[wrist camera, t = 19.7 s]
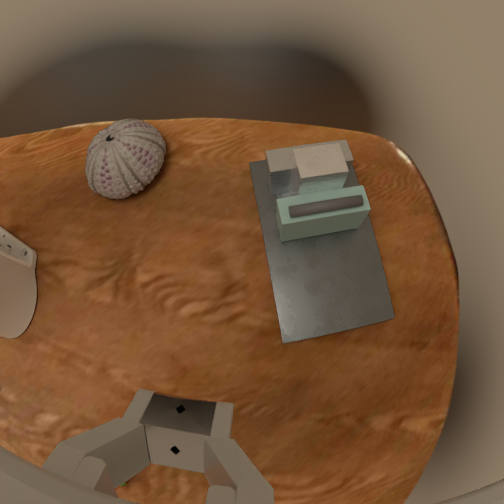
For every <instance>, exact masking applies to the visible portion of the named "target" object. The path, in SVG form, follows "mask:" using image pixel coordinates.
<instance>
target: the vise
mask: <svg viewBox="0 0 504 504" xmlns="http://www.w3.org/2000/svg"><path fill="white" fill-rule="evenodd" d="M336 143H339V145H340V147H341V150H342V153H343V156H344V159H345V161H346V164H347V167H348V170H349V172H348V175H347V177H346V180H345V183H344V185H343V188H347V187H354V186H359V183H358V180H357V177H356V174H355V171H354V168H353V165H352V163H353V161H354V159H353V157H352V154H351V151H350V149H349V146H348V143H347V141H346V140H339V141H331V142H322V143H315V144H307V145H300V146H293V147H286V148H280V149H273V150H267V151H265V154H266V160H262V161H256V162H250V163H249V166H250V171H251V176H252V182H253V187H254V192H255V197H256V202H257V207H258V212H259V218H260V223H261V228H262V233H263V239H264V244H265V249H266V254H267V260H268V265H269V270H270V276H271V281H272V287H273V292H274V297H275V303H276V308H277V314H278V319H279V325H280V330H281V336H282V342H283V343H288V342H293V341H298V340H303V339H308V338H313V337H318V336H323V335H327V334H332V333H336V332H341V331H345V330H349V329H354V328H358V327H362V326H366V325H370V324H374V323H378V322H382V321H385V320H389V319H393V318H395V317H394V312H393V307H392V303H391V298H390V294H389V289H388V285H387V281H386V277H385V272H384V268H383V264H382V260H381V257H380V253H379V249H378V245H377V242H376V238H375V235H374V231H373V228H372V224H371V221H370V217H369V214H368V215H367V216H366V218H365V219H364V220H363V222H362V223H361V225H360V226H359V228H356V229H350V230H344V231H339V232H333V233H328V234H322V235H317V236H311V237H306V238H300V239H295V240H289V241H284V242H281V239H280V234H279V229H278V224H277V219H276V199H279V198H285V197H291V196H290V181H291V168H292V154H293V149H298V148H305V147H313V146H320V145H328V144H336Z"/></svg>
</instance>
